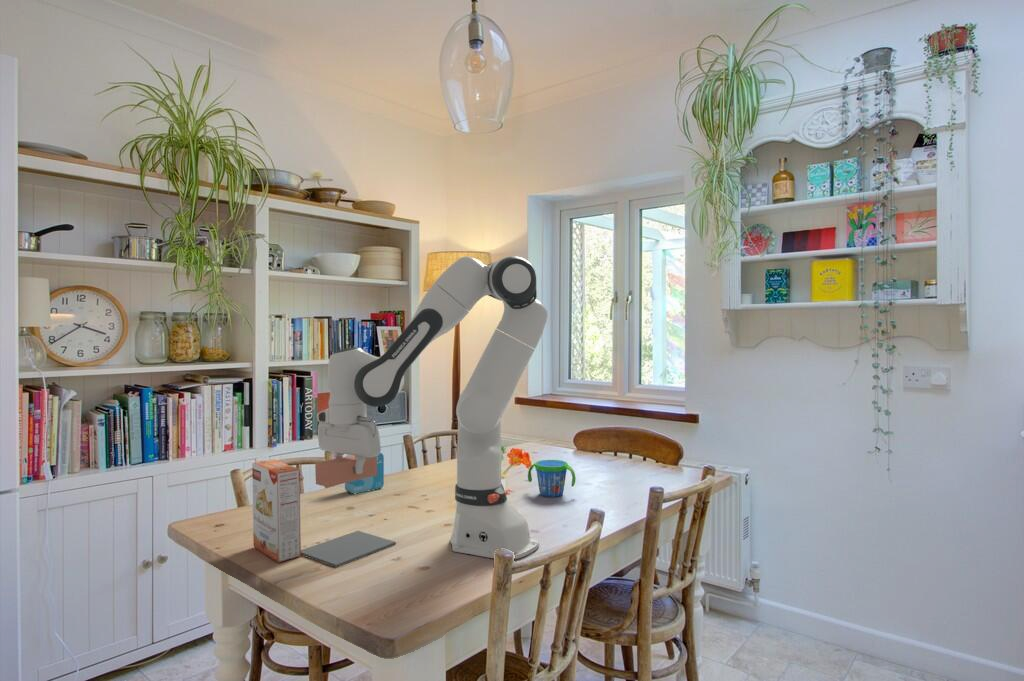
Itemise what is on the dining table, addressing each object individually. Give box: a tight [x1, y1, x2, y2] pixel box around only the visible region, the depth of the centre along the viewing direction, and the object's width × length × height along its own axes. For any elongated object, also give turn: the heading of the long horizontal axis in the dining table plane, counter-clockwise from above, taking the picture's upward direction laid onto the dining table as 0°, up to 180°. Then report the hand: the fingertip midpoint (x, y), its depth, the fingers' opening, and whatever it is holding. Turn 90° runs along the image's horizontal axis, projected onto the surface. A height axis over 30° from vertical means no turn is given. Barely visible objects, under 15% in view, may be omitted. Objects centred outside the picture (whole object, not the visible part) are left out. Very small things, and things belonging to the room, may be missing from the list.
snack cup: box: [527, 459, 577, 498], centre depth 197 cm, size 16×10×10 cm
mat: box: [301, 530, 397, 568], centre depth 148 cm, size 14×18×1 cm
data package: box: [344, 452, 385, 494], centre depth 201 cm, size 12×4×12 cm, turn 134°
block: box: [314, 455, 377, 488], centre depth 148 cm, size 5×5×14 cm
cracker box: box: [251, 459, 302, 563], centre depth 146 cm, size 14×6×21 cm, turn 45°
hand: (349, 472), depth 149 cm, fingers closed on block, 5 cm apart
